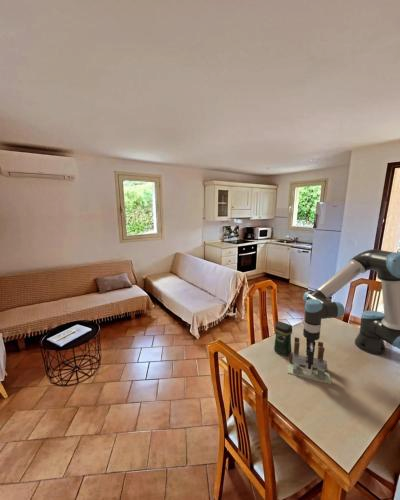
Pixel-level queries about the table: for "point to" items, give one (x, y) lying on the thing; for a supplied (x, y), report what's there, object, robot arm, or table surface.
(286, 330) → the coffee jar
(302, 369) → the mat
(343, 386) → the table surface
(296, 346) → the rack
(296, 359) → the rail
